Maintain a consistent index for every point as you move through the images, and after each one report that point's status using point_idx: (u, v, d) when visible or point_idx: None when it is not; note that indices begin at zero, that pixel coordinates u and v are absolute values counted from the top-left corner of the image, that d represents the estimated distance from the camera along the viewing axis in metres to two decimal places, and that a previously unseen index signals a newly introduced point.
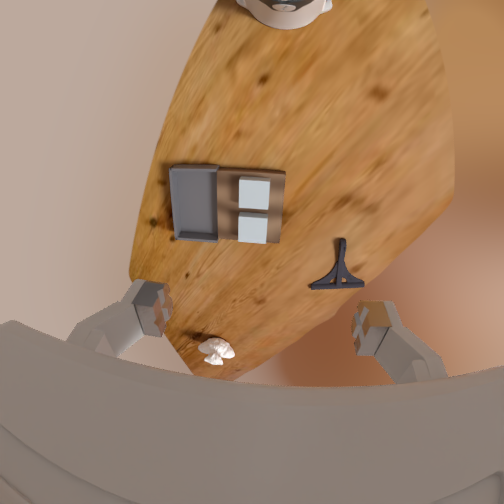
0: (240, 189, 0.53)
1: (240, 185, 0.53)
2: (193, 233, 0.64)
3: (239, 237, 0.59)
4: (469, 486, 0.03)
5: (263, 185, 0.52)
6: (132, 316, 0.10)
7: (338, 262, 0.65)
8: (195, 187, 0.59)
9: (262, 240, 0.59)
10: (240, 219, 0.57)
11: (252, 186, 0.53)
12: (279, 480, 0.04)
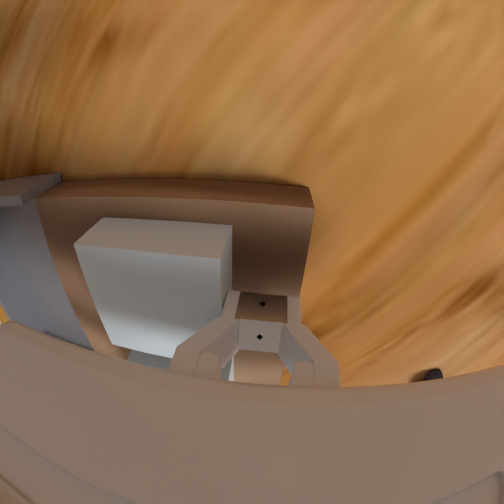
0: (92, 285, 0.10)
1: (86, 269, 0.10)
2: None
3: None
4: (469, 486, 0.03)
5: (186, 277, 0.09)
6: (235, 332, 0.09)
7: None
8: (28, 244, 0.15)
9: None
10: None
11: (134, 278, 0.09)
12: (280, 481, 0.04)
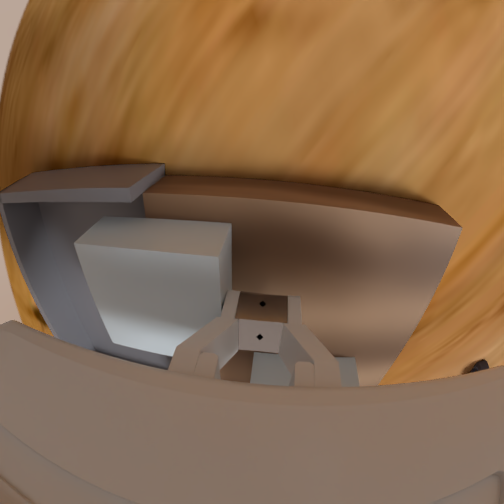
0: (92, 284, 0.10)
1: (86, 268, 0.10)
2: None
3: None
4: (469, 486, 0.03)
5: (185, 275, 0.09)
6: (234, 332, 0.09)
7: None
8: None
9: None
10: None
11: (133, 276, 0.10)
12: (279, 480, 0.04)
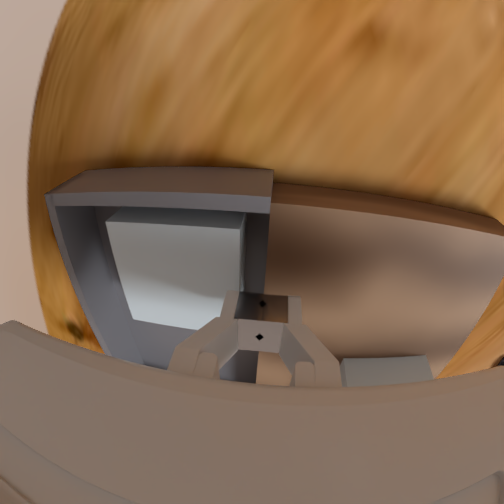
0: (119, 260, 0.12)
1: (115, 245, 0.11)
2: None
3: None
4: (469, 486, 0.03)
5: (209, 246, 0.11)
6: (234, 332, 0.09)
7: None
8: None
9: None
10: None
11: (161, 250, 0.11)
12: (279, 481, 0.04)
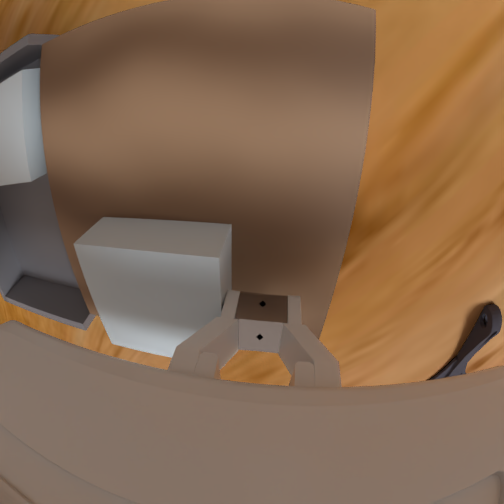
0: None
1: None
2: (40, 285, 0.17)
3: (110, 331, 0.12)
4: (469, 486, 0.03)
5: (9, 92, 0.07)
6: (234, 332, 0.09)
7: (458, 361, 0.17)
8: None
9: None
10: (84, 258, 0.09)
11: None
12: (279, 480, 0.04)
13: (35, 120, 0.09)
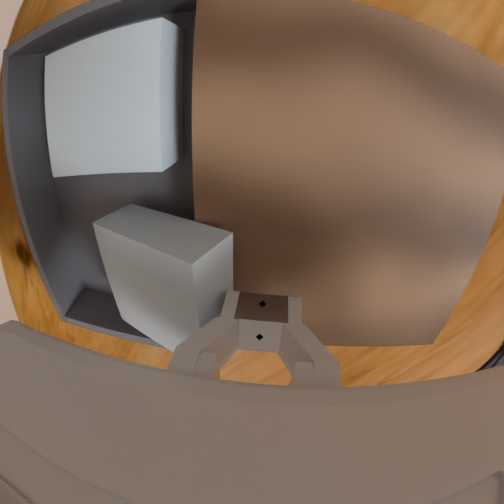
0: (48, 95, 0.08)
1: (48, 78, 0.07)
2: None
3: (119, 307, 0.13)
4: (469, 486, 0.03)
5: (131, 44, 0.07)
6: (234, 332, 0.09)
7: None
8: None
9: None
10: (100, 237, 0.11)
11: (86, 65, 0.07)
12: (279, 480, 0.04)
13: (169, 90, 0.08)
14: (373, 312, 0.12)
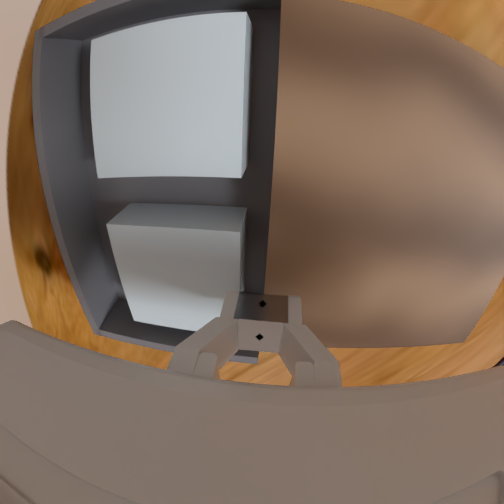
0: (95, 83, 0.07)
1: (95, 64, 0.07)
2: None
3: (133, 308, 0.13)
4: (469, 486, 0.03)
5: (208, 35, 0.07)
6: (234, 332, 0.09)
7: None
8: None
9: None
10: (116, 237, 0.11)
11: (148, 52, 0.07)
12: (279, 481, 0.04)
13: (247, 91, 0.08)
14: (421, 314, 0.12)
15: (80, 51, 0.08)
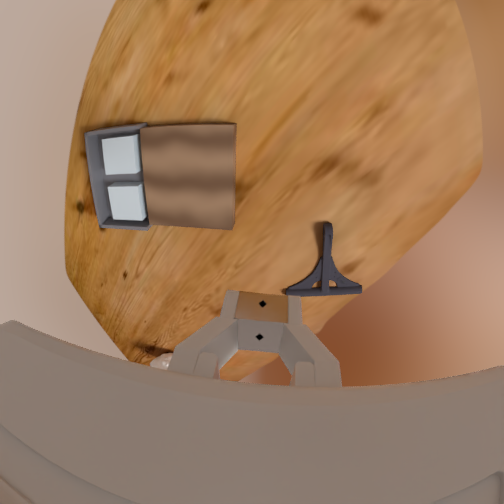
0: (104, 151, 0.36)
1: (103, 146, 0.36)
2: None
3: (113, 214, 0.42)
4: (469, 486, 0.03)
5: (126, 142, 0.35)
6: (234, 332, 0.09)
7: (323, 258, 0.45)
8: None
9: (137, 216, 0.42)
10: (110, 190, 0.40)
11: (115, 145, 0.36)
12: (279, 481, 0.04)
13: (137, 153, 0.37)
14: (197, 212, 0.41)
15: (97, 136, 0.37)
